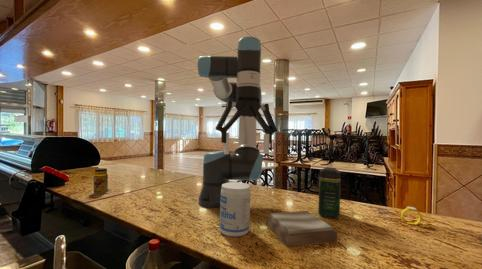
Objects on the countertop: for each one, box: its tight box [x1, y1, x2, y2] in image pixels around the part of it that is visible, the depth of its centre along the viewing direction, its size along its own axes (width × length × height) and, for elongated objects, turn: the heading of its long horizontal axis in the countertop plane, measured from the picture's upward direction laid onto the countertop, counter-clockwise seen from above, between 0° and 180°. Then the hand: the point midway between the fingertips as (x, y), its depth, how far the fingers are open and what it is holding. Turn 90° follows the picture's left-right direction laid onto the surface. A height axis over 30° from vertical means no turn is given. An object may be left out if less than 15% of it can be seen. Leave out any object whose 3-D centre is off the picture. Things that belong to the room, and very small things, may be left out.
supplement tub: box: [219, 181, 252, 238], centre depth 70 cm, size 10×10×15 cm
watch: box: [400, 206, 423, 226], centre depth 79 cm, size 6×3×6 cm, turn 75°
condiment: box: [91, 167, 111, 196], centre depth 112 cm, size 7×8×12 cm
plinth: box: [265, 210, 338, 248], centre depth 70 cm, size 16×16×4 cm
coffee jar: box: [317, 166, 342, 219], centre depth 87 cm, size 10×8×19 cm
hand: (246, 153), depth 70 cm, fingers open, 13 cm apart
